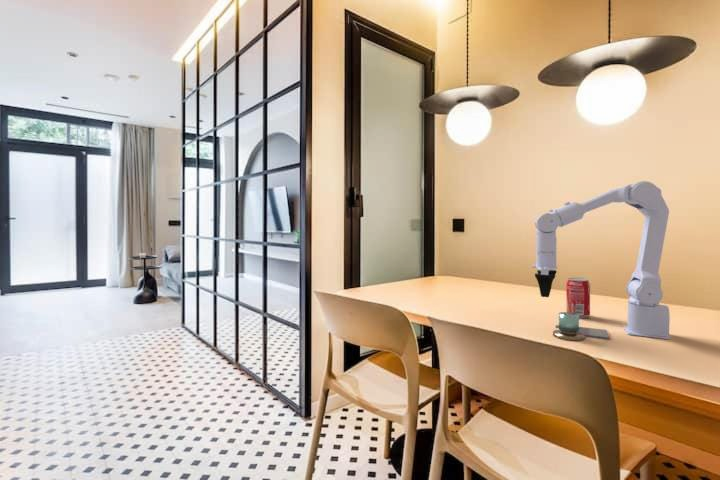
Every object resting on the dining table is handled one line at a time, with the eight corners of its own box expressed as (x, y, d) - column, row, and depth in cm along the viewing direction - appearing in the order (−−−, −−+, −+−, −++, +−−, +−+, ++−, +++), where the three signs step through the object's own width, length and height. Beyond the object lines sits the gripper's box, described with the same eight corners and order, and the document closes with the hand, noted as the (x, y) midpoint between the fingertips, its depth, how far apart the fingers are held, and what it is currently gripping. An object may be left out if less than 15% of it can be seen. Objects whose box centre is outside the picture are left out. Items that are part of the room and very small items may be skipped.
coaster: (606, 331, 109) (606, 329, 109) (609, 339, 102) (609, 337, 102) (575, 328, 113) (575, 326, 113) (576, 335, 106) (576, 333, 106)
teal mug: (581, 328, 106) (581, 313, 106) (582, 333, 102) (582, 317, 101) (555, 325, 109) (556, 311, 109) (555, 330, 105) (555, 315, 105)
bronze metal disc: (584, 334, 107) (584, 327, 107) (585, 342, 100) (585, 335, 100) (553, 330, 111) (553, 324, 111) (552, 338, 104) (552, 331, 104)
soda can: (593, 319, 123) (594, 280, 123) (570, 318, 125) (570, 280, 124) (585, 313, 130) (585, 277, 130) (563, 312, 132) (563, 277, 131)
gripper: (534, 249, 124) (533, 289, 125) (530, 253, 111) (529, 297, 112) (557, 250, 120) (557, 291, 121) (556, 254, 108) (555, 299, 108)
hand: (545, 294), depth 116 cm, fingers open, 7 cm apart
